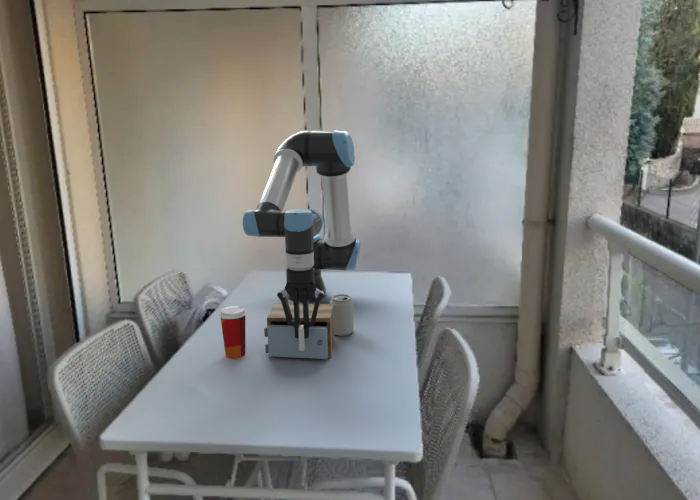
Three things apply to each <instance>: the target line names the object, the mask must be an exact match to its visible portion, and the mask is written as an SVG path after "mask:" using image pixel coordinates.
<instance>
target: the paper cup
mask: <svg viewBox="0 0 700 500" xmlns="http://www.w3.org/2000/svg"><path fill="white" fill-rule="evenodd" d="M246 315H247V311H246V309H245V307H243V306H240V305H231V306H226V307H223V308H221V310H220V313H219V315H218V316H219V318H220V324H221V330H222V339H223V345H224V353H225V357H226V358H227V359H229V360H238V359H242V358H244V357H245V355H246Z"/></svg>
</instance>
